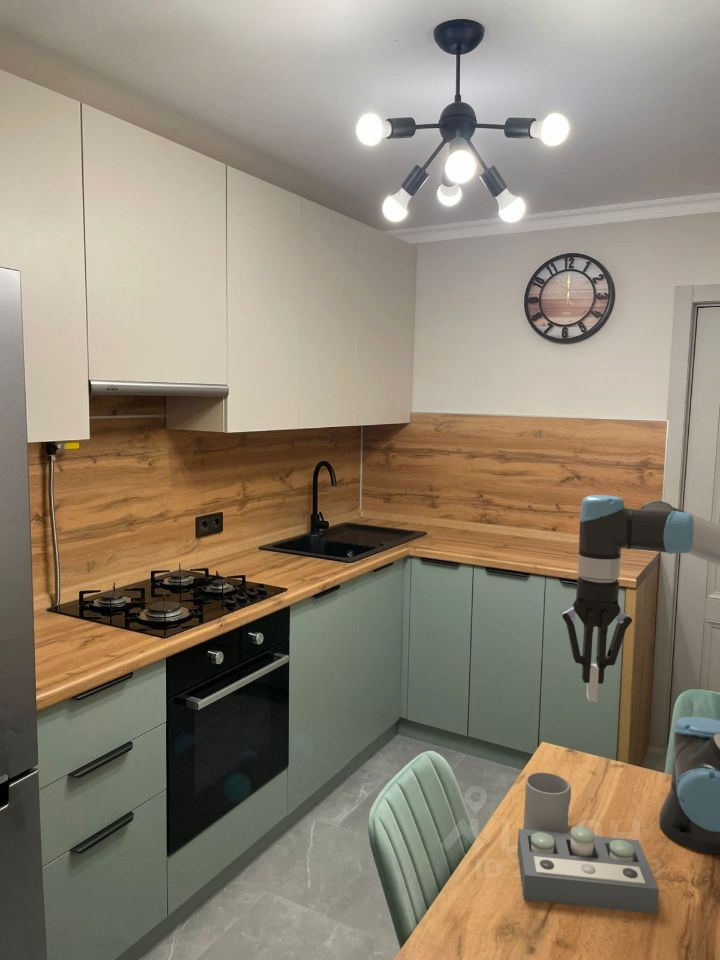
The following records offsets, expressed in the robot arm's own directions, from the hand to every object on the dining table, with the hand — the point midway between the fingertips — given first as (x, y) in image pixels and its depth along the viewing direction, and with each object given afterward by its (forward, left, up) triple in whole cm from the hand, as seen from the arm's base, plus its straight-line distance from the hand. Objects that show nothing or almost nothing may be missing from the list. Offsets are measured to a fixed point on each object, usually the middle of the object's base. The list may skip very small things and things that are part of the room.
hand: (591, 698), depth 139 cm
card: (+2, +15, -25) cm, 29 cm away
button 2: (-5, +9, -28) cm, 30 cm away
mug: (+6, -3, -30) cm, 30 cm away
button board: (+2, +11, -29) cm, 32 cm away
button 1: (+9, +9, -28) cm, 31 cm away
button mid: (+2, +9, -26) cm, 28 cm away
